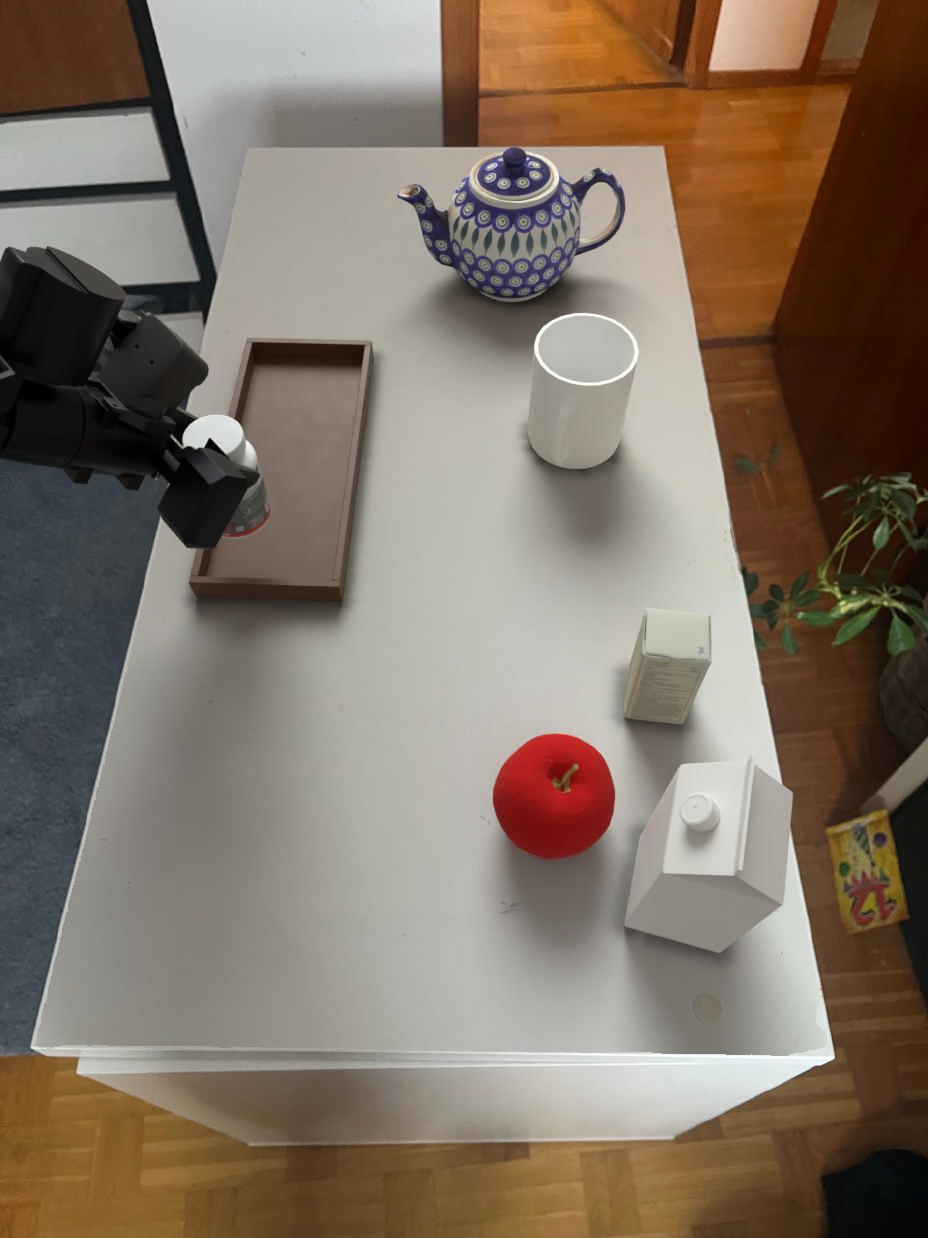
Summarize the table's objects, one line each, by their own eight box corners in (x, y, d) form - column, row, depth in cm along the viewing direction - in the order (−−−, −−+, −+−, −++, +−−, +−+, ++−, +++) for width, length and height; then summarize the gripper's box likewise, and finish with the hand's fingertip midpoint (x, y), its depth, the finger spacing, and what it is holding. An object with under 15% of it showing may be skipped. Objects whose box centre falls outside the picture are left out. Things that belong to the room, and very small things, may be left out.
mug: (619, 406, 92) (638, 316, 82) (619, 496, 86) (639, 410, 76) (529, 400, 92) (537, 309, 82) (522, 489, 86) (529, 402, 76)
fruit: (580, 893, 66) (597, 855, 58) (472, 841, 68) (473, 797, 60) (624, 788, 70) (646, 738, 62) (521, 742, 72) (529, 687, 64)
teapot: (607, 230, 107) (626, 106, 94) (624, 312, 99) (648, 190, 87) (402, 236, 107) (393, 113, 94) (404, 320, 99) (395, 198, 86)
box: (684, 681, 75) (715, 613, 66) (683, 726, 73) (715, 664, 64) (622, 673, 76) (645, 605, 66) (620, 718, 74) (642, 654, 64)
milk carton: (731, 860, 67) (815, 769, 51) (719, 954, 64) (806, 888, 48) (639, 836, 68) (693, 738, 52) (623, 927, 65) (675, 853, 49)
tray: (342, 602, 80) (339, 586, 77) (195, 597, 80) (188, 582, 78) (373, 358, 96) (371, 340, 94) (251, 355, 96) (246, 337, 94)
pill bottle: (192, 523, 76) (158, 443, 67) (234, 480, 78) (207, 398, 70) (244, 552, 74) (216, 474, 66) (285, 507, 77) (264, 426, 68)
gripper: (185, 398, 51) (355, 439, 65) (38, 244, 59) (218, 309, 72) (110, 548, 55) (284, 558, 69) (-19, 387, 63) (161, 424, 76)
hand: (236, 456), depth 71 cm, fingers closed on pill bottle, 6 cm apart
